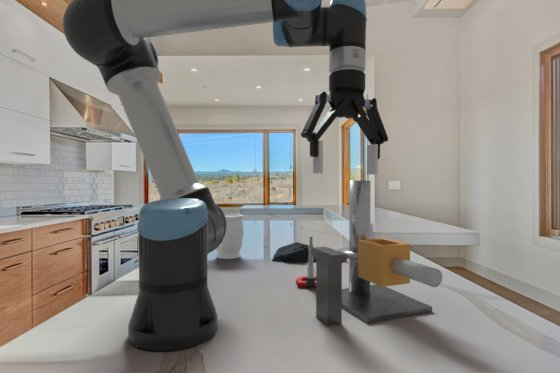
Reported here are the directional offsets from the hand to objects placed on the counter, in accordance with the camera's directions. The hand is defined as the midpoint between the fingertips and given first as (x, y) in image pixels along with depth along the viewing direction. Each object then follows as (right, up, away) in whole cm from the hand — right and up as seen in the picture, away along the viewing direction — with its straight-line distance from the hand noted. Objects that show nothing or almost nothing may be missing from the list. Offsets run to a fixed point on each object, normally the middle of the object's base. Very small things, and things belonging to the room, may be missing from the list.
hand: (345, 174), depth 73 cm
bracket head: (+10, -22, -5) cm, 25 cm away
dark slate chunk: (-9, -28, +51) cm, 59 cm away
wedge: (-5, -29, -7) cm, 30 cm away
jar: (-32, -28, +49) cm, 65 cm away
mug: (+16, -28, +47) cm, 57 cm away
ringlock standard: (+6, -28, +4) cm, 29 cm away
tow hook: (-6, -28, +18) cm, 34 cm away
